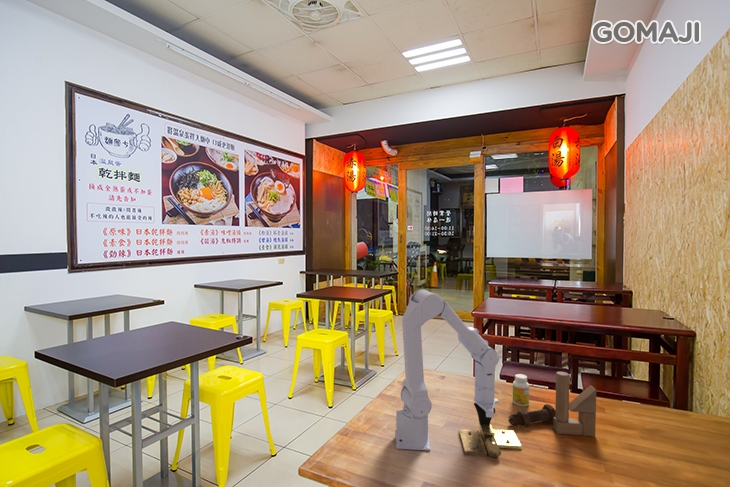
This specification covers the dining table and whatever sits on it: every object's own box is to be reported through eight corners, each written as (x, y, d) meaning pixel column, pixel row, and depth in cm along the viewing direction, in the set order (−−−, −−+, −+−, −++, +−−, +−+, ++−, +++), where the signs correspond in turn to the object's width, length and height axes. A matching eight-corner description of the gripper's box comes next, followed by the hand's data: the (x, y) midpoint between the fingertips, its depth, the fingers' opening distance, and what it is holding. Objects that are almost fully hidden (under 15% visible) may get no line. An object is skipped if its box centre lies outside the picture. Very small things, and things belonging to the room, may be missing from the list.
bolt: (509, 431, 115) (550, 423, 118) (517, 431, 111) (560, 423, 114) (503, 411, 118) (543, 404, 121) (511, 410, 113) (553, 403, 116)
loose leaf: (484, 446, 103) (484, 436, 103) (478, 431, 111) (478, 421, 111) (521, 449, 102) (521, 438, 102) (513, 433, 110) (513, 423, 110)
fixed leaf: (465, 456, 99) (465, 444, 99) (458, 432, 111) (458, 422, 111) (500, 458, 98) (500, 446, 98) (490, 434, 110) (490, 423, 110)
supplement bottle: (509, 401, 131) (509, 374, 131) (520, 398, 133) (520, 372, 133) (521, 407, 126) (521, 380, 126) (532, 404, 128) (532, 377, 128)
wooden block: (595, 437, 108) (596, 377, 107) (557, 434, 110) (558, 375, 109) (590, 430, 112) (591, 372, 111) (552, 427, 113) (553, 370, 113)
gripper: (504, 396, 103) (504, 443, 103) (492, 375, 117) (492, 417, 118) (479, 395, 103) (478, 442, 104) (469, 375, 118) (469, 416, 118)
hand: (484, 428), depth 111 cm, fingers closed
